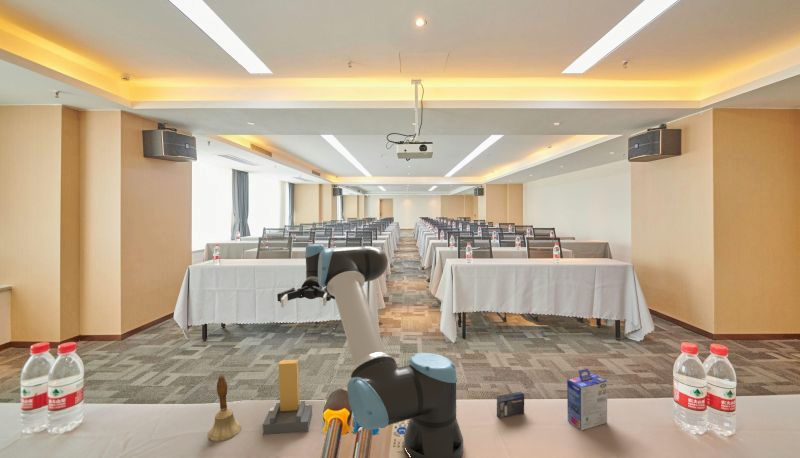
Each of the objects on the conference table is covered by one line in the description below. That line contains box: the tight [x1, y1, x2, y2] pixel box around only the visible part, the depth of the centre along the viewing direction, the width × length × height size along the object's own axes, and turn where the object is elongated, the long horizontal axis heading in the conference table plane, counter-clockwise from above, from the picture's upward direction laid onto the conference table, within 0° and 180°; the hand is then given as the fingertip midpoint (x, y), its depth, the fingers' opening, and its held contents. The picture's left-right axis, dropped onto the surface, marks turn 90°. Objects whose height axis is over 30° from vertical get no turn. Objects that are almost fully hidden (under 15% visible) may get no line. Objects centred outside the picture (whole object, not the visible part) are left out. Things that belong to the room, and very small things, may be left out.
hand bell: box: [207, 375, 242, 442], centre depth 99 cm, size 8×8×16 cm
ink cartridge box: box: [566, 368, 608, 431], centre depth 101 cm, size 10×6×14 cm, turn 110°
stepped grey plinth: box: [262, 400, 313, 436], centre depth 102 cm, size 12×8×4 cm, turn 96°
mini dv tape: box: [496, 391, 525, 419], centre depth 105 cm, size 8×2×6 cm, turn 106°
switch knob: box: [278, 359, 301, 411], centre depth 104 cm, size 5×2×14 cm, turn 96°
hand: (303, 302), depth 118 cm, fingers open, 13 cm apart
